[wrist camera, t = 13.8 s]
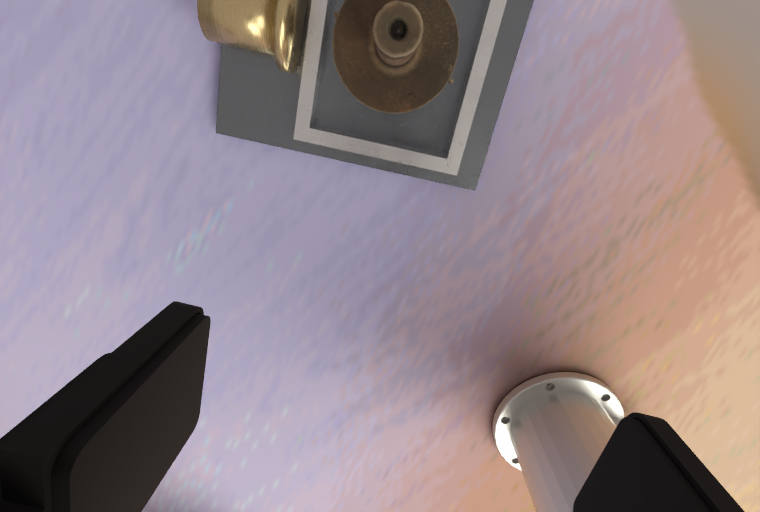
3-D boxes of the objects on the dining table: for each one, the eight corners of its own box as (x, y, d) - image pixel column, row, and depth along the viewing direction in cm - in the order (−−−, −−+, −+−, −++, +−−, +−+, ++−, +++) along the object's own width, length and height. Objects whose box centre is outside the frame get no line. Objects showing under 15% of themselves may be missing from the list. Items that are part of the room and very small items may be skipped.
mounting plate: (545, -51, 26) (587, -90, 21) (472, 187, 32) (490, 206, 27) (238, -131, 25) (195, -196, 20) (221, 131, 31) (184, 139, 25)
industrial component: (317, 53, 28) (269, 24, 17) (390, -38, 26) (391, -139, 15) (412, 150, 30) (426, 182, 19) (486, 74, 28) (550, 59, 17)
